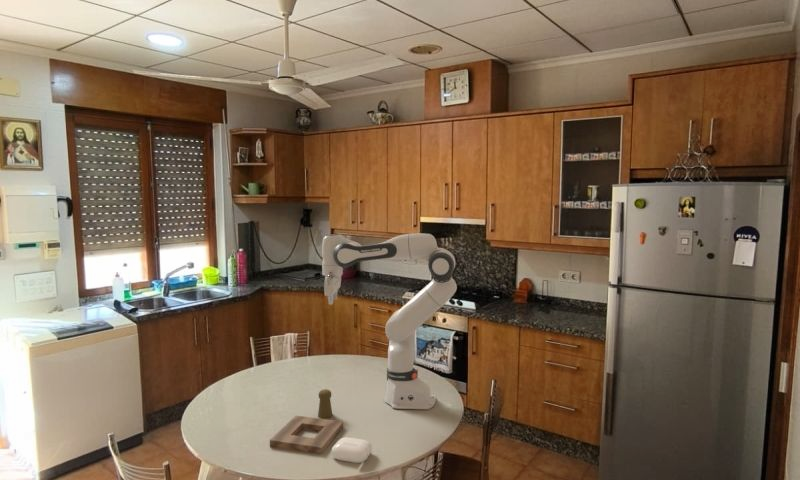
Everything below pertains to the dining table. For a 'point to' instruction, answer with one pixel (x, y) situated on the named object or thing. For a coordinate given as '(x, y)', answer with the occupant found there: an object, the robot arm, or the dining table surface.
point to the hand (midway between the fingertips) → (332, 301)
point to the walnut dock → (305, 444)
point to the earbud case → (351, 450)
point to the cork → (325, 404)
